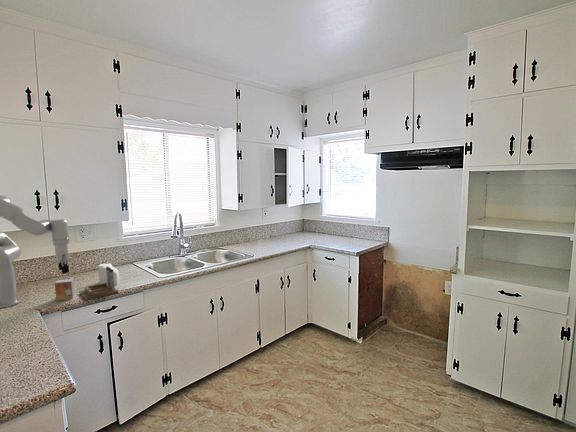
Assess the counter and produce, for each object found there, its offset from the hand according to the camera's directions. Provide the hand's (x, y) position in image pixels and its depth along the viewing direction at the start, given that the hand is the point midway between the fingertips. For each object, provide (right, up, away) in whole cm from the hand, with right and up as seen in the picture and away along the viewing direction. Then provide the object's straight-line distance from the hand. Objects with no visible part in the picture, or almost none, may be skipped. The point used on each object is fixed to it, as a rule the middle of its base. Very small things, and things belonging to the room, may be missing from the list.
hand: (64, 271), depth 181 cm
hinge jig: (+14, -15, +10) cm, 23 cm away
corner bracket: (+10, -13, +29) cm, 33 cm away
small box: (0, -16, +2) cm, 16 cm away
